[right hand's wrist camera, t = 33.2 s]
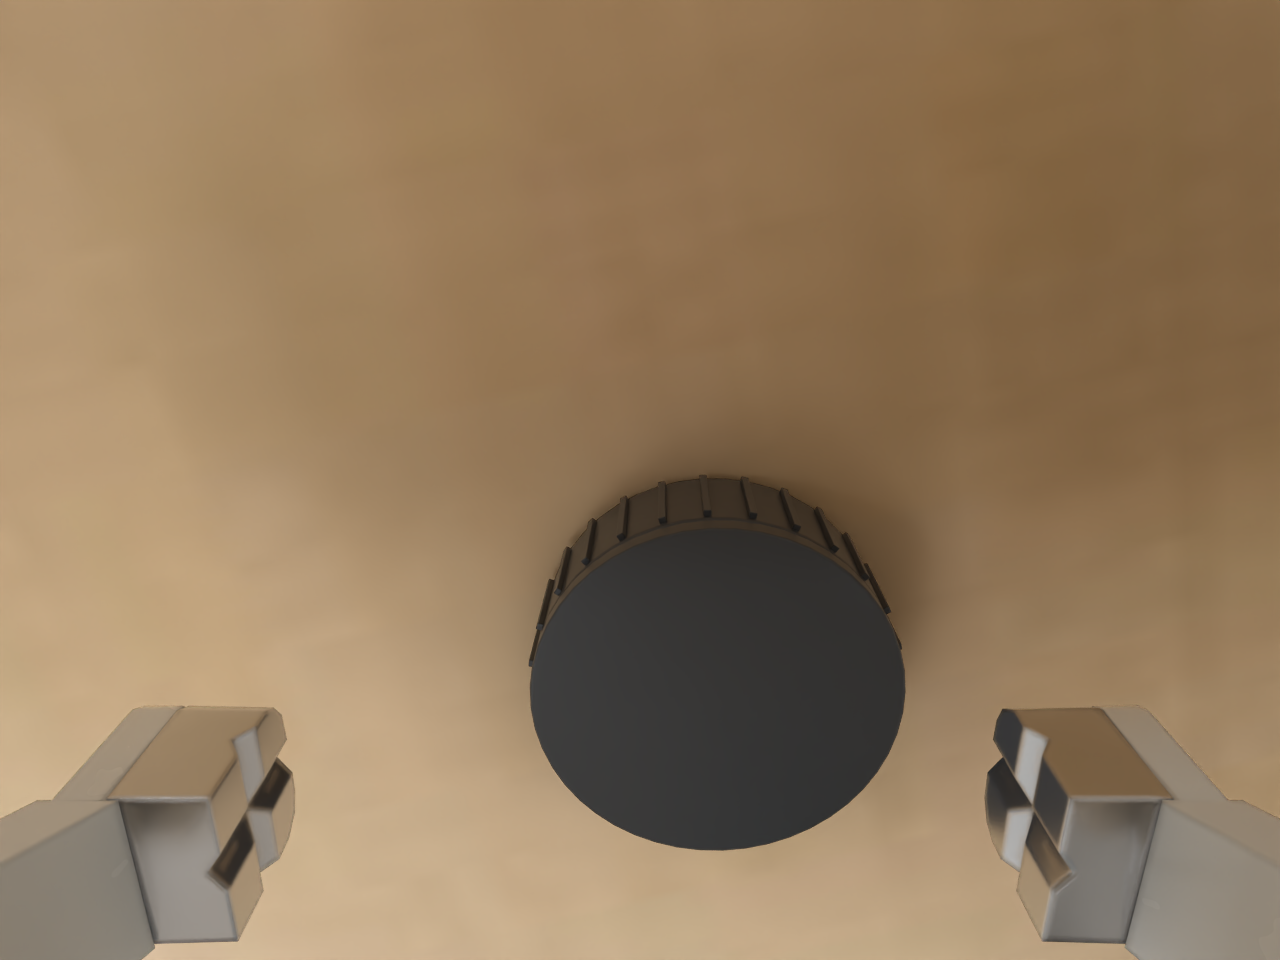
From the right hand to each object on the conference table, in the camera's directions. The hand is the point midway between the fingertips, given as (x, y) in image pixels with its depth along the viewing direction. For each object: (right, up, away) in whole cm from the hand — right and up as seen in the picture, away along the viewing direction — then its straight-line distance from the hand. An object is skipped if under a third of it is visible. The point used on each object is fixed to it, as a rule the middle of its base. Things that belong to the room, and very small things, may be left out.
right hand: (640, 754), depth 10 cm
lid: (+1, 0, +3) cm, 3 cm away
